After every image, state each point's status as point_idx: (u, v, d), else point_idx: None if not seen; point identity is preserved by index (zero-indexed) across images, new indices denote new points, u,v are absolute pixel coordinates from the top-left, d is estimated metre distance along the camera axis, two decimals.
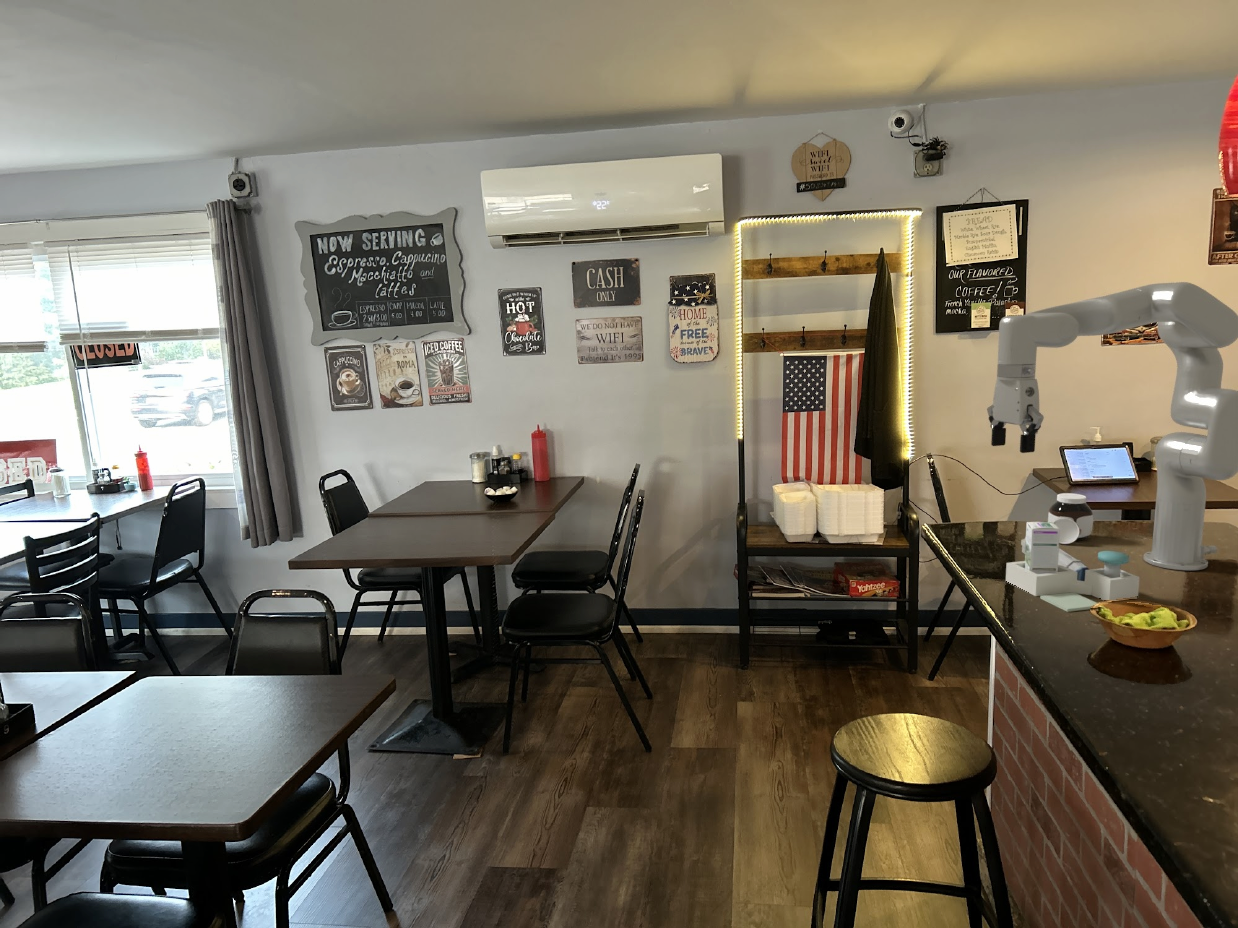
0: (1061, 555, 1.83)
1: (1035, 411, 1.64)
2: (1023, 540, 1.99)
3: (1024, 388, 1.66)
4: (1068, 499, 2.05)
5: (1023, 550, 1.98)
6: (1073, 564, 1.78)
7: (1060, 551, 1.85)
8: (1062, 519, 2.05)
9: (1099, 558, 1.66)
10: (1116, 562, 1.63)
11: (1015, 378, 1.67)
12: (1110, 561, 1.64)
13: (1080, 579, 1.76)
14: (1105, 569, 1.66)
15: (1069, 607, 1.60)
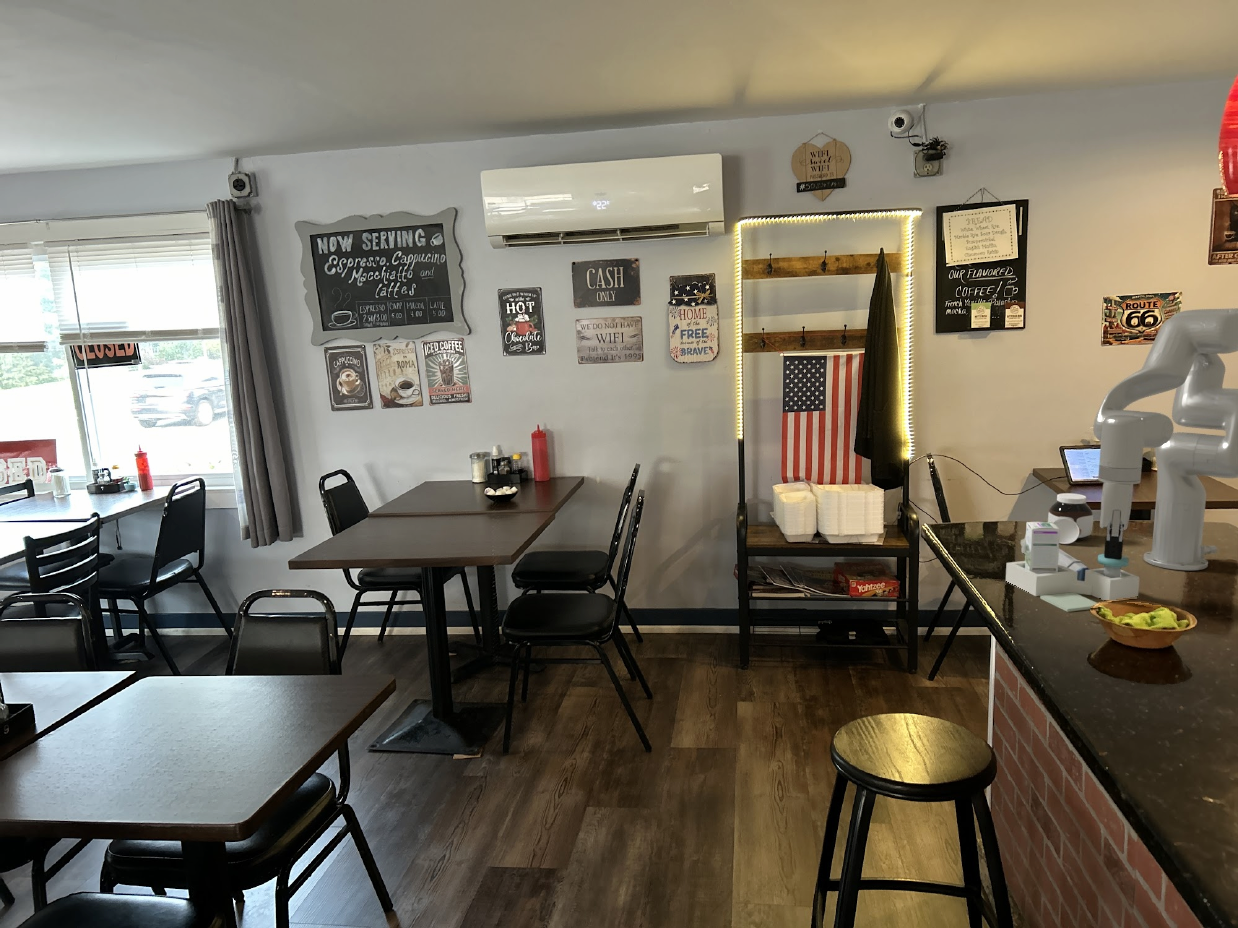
0: (1061, 555, 1.83)
1: None
2: (1022, 540, 1.99)
3: None
4: (1068, 499, 2.05)
5: (1023, 550, 1.98)
6: (1073, 564, 1.78)
7: (1060, 551, 1.84)
8: (1062, 519, 2.05)
9: (1099, 561, 1.66)
10: (1116, 565, 1.63)
11: None
12: (1110, 564, 1.64)
13: (1081, 579, 1.76)
14: (1105, 572, 1.66)
15: (1069, 607, 1.60)
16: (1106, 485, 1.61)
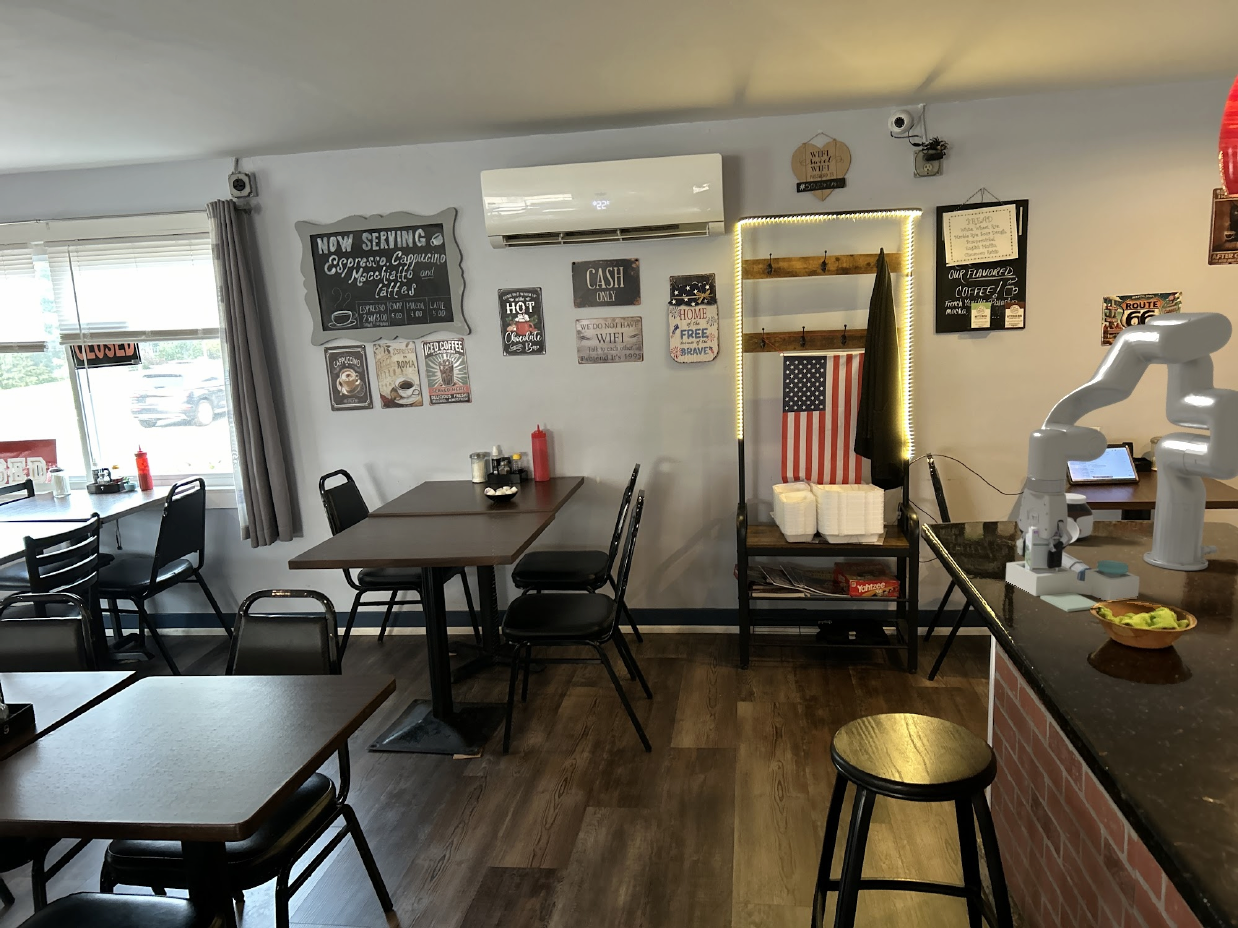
0: (1062, 556, 1.82)
1: None
2: (1018, 541, 1.98)
3: None
4: (1068, 499, 2.05)
5: (1019, 551, 1.97)
6: (1075, 565, 1.77)
7: None
8: None
9: (1098, 568, 1.67)
10: (1115, 572, 1.64)
11: None
12: (1109, 571, 1.64)
13: (1083, 580, 1.76)
14: None
15: (1069, 607, 1.60)
16: (1049, 498, 1.66)
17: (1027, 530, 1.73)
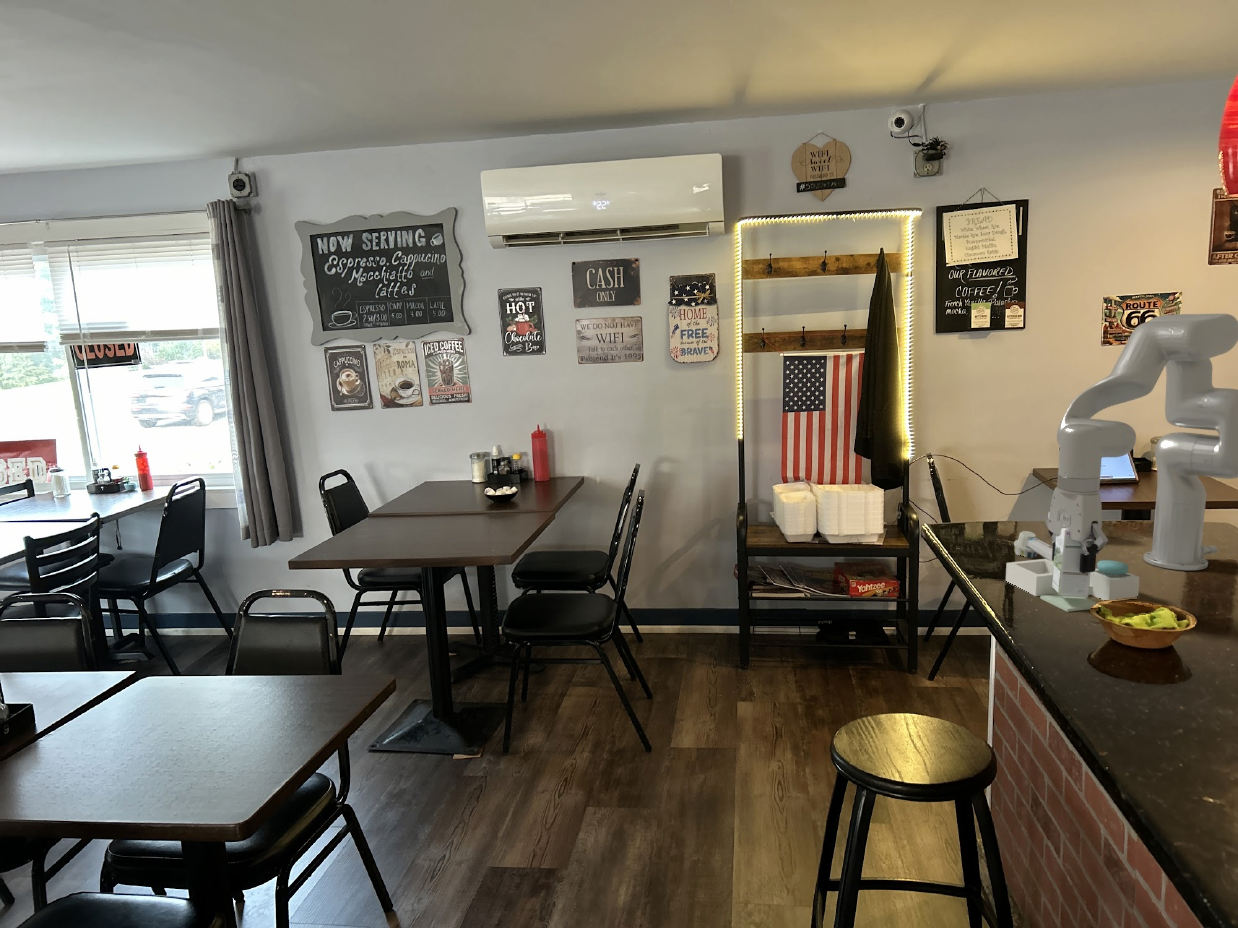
0: None
1: None
2: (1016, 542, 1.98)
3: None
4: None
5: (1017, 552, 1.96)
6: None
7: None
8: None
9: (1098, 568, 1.67)
10: (1115, 572, 1.64)
11: None
12: (1109, 571, 1.64)
13: None
14: None
15: (1069, 607, 1.60)
16: (1082, 497, 1.56)
17: (1057, 531, 1.62)
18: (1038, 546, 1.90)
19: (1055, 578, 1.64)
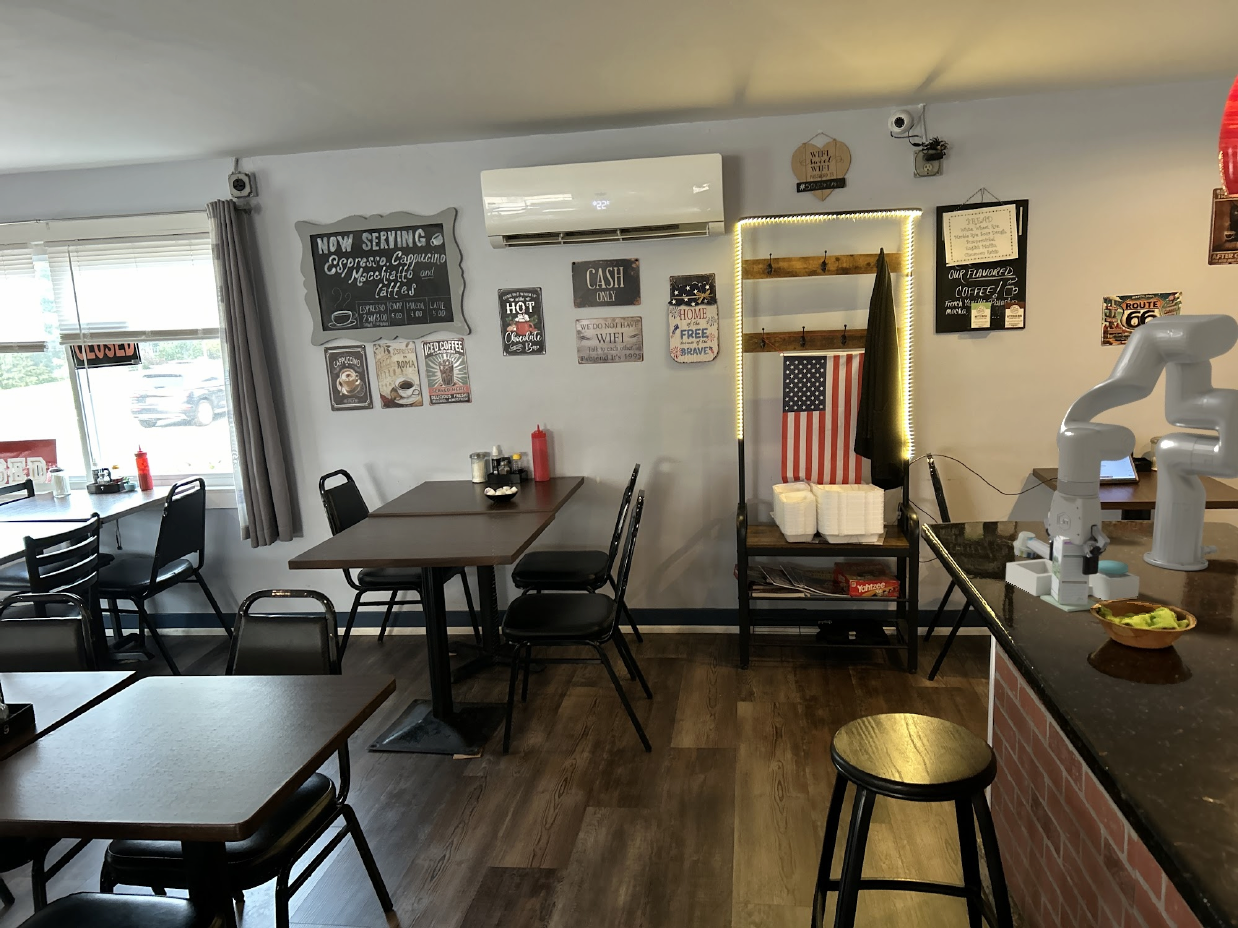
0: None
1: None
2: (1015, 542, 1.98)
3: None
4: None
5: (1016, 552, 1.96)
6: None
7: None
8: None
9: (1098, 568, 1.67)
10: (1115, 572, 1.64)
11: None
12: (1109, 571, 1.64)
13: None
14: None
15: (1069, 607, 1.60)
16: (1082, 501, 1.56)
17: (1057, 535, 1.63)
18: (1038, 546, 1.90)
19: (1054, 586, 1.64)
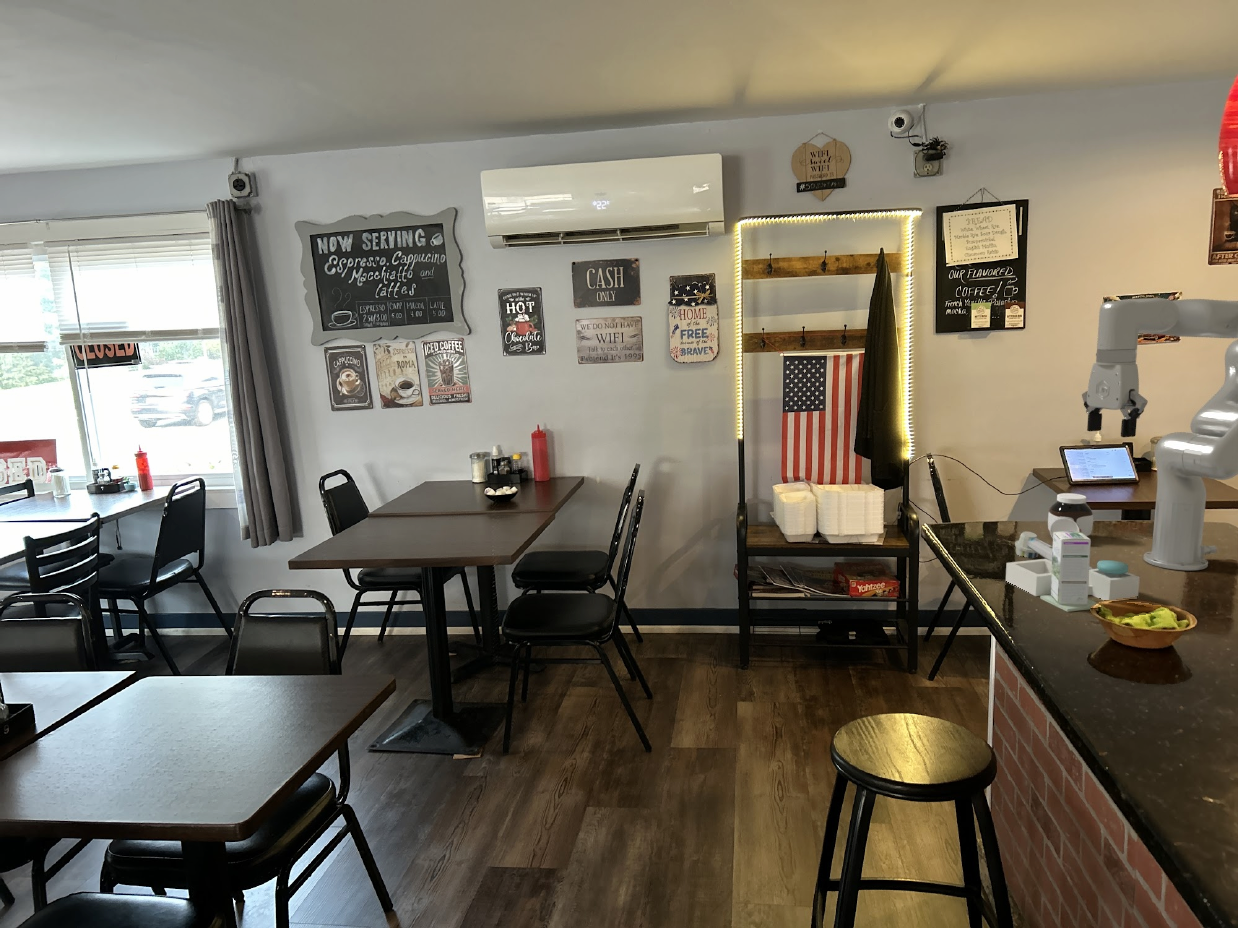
0: None
1: None
2: (1017, 542, 1.97)
3: None
4: (1068, 499, 2.05)
5: (1018, 552, 1.96)
6: None
7: None
8: (1062, 519, 2.05)
9: (1098, 568, 1.67)
10: (1115, 572, 1.64)
11: None
12: (1109, 571, 1.64)
13: None
14: None
15: (1069, 607, 1.60)
16: (1121, 367, 1.67)
17: (1096, 404, 1.74)
18: (1039, 546, 1.89)
19: (1054, 586, 1.64)
